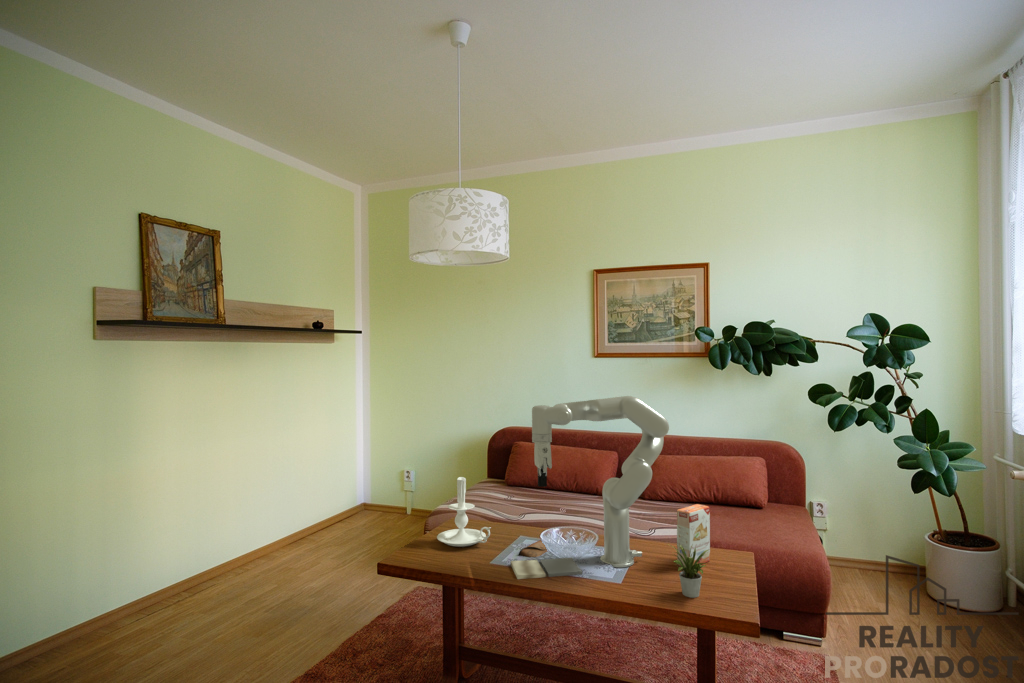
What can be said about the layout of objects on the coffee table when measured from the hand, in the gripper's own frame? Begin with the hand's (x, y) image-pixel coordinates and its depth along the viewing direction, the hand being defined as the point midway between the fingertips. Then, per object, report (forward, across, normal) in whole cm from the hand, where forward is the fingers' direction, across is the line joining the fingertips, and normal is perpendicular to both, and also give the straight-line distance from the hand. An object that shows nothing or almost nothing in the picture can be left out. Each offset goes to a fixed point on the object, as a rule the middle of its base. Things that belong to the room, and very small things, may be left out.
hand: (542, 486), depth 213 cm
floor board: (+29, -9, -4) cm, 31 cm away
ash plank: (+29, -9, +7) cm, 31 cm away
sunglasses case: (+30, +11, -1) cm, 32 cm away
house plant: (+29, -36, -40) cm, 61 cm away
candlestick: (+29, +28, +27) cm, 49 cm away
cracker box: (+29, -11, -56) cm, 64 cm away
